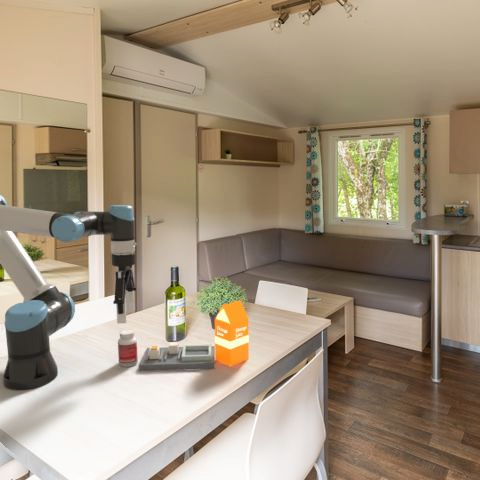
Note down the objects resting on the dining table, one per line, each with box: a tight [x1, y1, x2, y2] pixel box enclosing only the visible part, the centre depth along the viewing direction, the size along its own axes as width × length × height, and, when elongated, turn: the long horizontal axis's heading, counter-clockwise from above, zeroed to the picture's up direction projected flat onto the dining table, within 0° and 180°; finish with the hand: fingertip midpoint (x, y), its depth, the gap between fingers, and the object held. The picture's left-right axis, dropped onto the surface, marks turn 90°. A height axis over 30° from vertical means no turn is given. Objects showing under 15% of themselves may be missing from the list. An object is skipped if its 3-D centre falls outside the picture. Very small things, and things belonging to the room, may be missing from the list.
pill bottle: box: [117, 329, 139, 368], centre depth 142 cm, size 6×6×11 cm
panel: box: [139, 344, 216, 372], centre depth 144 cm, size 24×14×4 cm, turn 93°
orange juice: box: [214, 299, 250, 367], centre depth 144 cm, size 8×9×20 cm
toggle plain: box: [168, 341, 180, 354], centre depth 146 cm, size 3×3×3 cm
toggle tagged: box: [149, 345, 161, 359], centre depth 142 cm, size 3×3×3 cm
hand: (126, 316), depth 140 cm, fingers open, 13 cm apart
